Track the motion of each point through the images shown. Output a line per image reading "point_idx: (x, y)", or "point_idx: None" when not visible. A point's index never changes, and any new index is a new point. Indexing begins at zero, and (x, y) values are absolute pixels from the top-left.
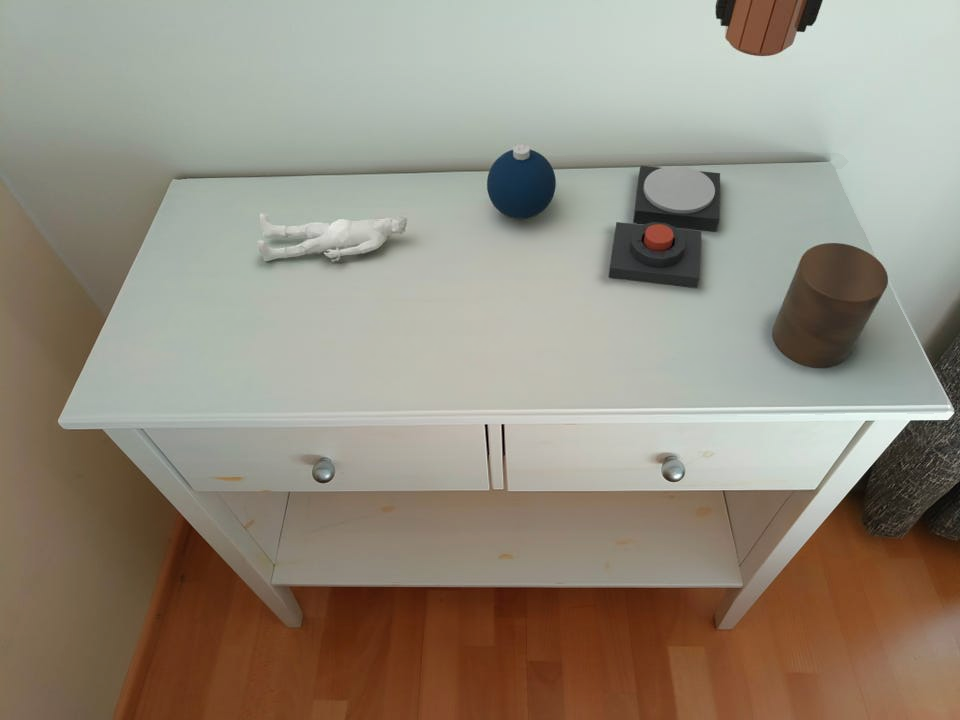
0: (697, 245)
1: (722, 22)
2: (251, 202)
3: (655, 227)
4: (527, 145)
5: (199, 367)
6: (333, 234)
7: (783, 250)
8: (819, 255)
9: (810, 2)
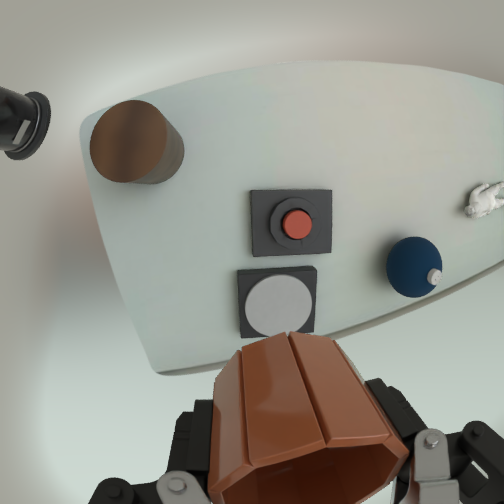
0: (256, 235)
1: (381, 380)
2: None
3: (302, 233)
4: (432, 283)
5: (495, 106)
6: (492, 194)
7: (176, 257)
8: (146, 156)
9: (199, 449)
